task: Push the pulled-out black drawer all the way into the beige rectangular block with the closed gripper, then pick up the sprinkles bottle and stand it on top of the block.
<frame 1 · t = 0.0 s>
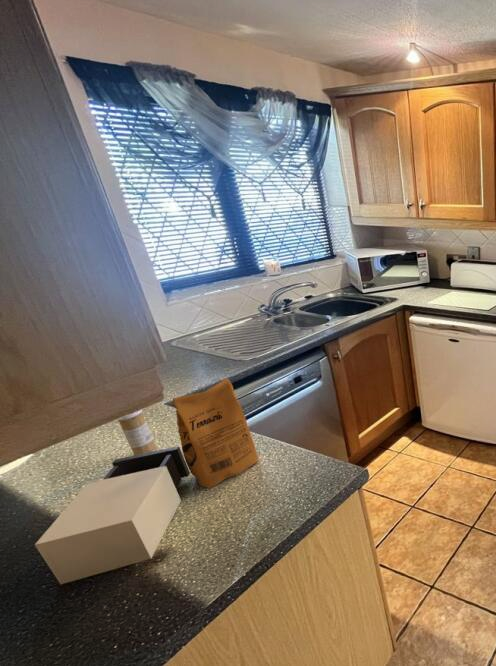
fryer drawer: (144, 480, 82), point 5 cm above the counter, slide at 7.0 cm
sprinkles bottle: (146, 453, 98), on the counter
coffee package: (227, 469, 92), on the counter
beige rectangular block: (127, 538, 74), on the counter
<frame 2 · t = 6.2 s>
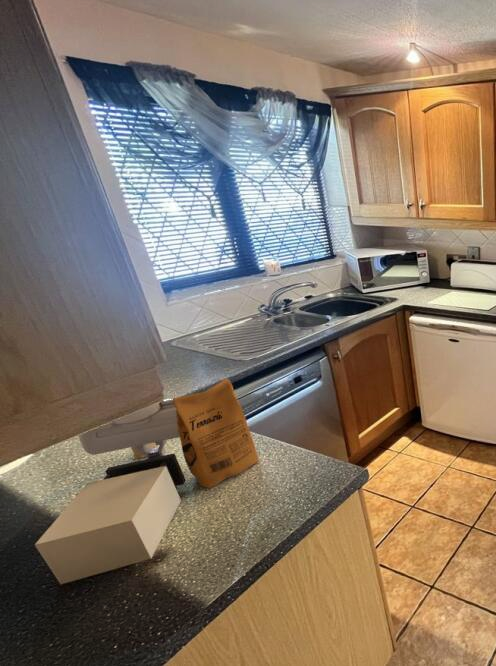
hand: (157, 456, 88), 6 cm above the counter, tool pointing down, fingers closed, pressing on fryer drawer
fryer drawer: (138, 489, 80), point 5 cm above the counter, slide at 4.4 cm, touching gripper
everything else where it was.
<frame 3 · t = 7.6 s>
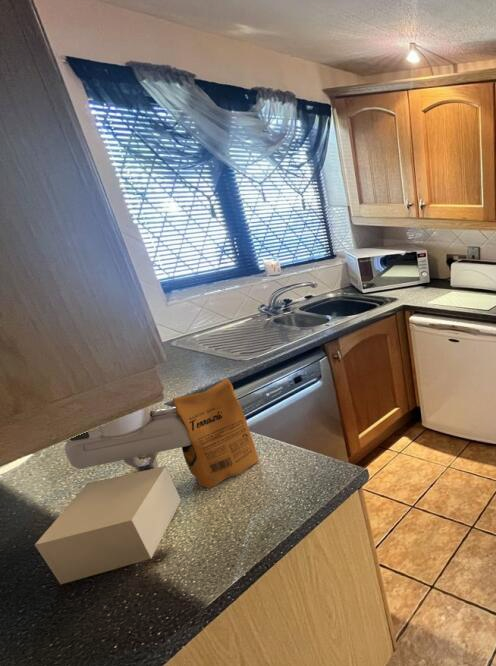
hand: (148, 469, 84), 6 cm above the counter, tool pointing down, fingers closed, pressing on fryer drawer
fryer drawer: (128, 504, 76), point 5 cm above the counter, slide at 0.0 cm, touching beige rectangular block, gripper
everything else where it was.
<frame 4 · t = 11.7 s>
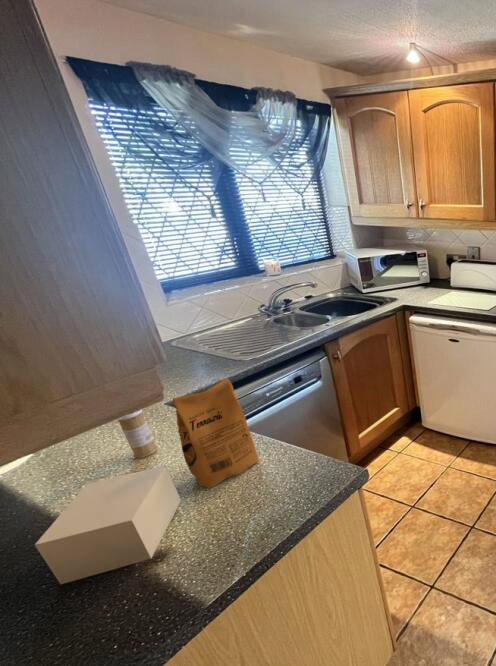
fryer drawer: (128, 504, 76), point 5 cm above the counter, slide at 0.0 cm, touching beige rectangular block
everything else where it was.
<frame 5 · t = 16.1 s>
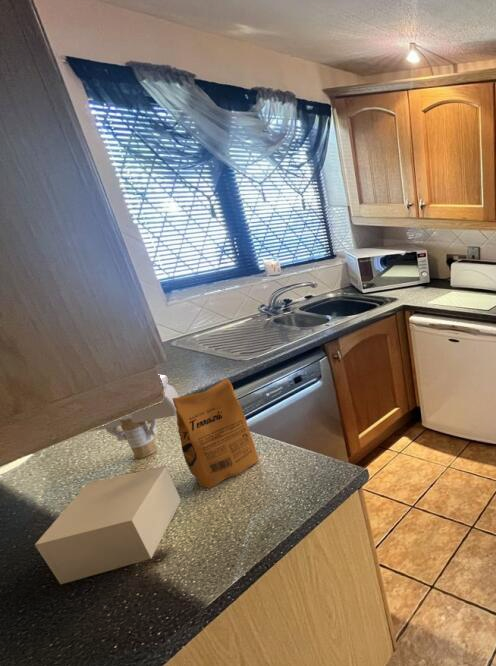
hand: (139, 436, 96), 5 cm above the counter, tool pointing down, fingers closed on sprinkles bottle, 4 cm apart
sprinkles bottle: (146, 453, 98), on the counter, touching gripper
everything else where it was.
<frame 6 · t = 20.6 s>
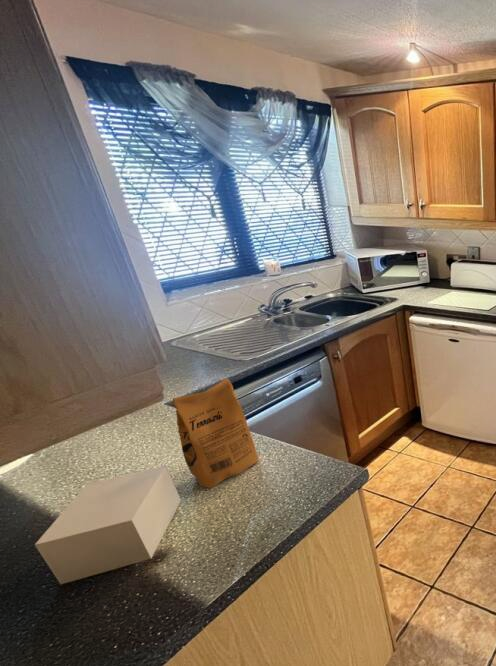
sprinkles bottle: (80, 427, 69), point 24 cm above the counter, touching gripper
everything else where it was.
when the fingers open (15 cm above the counter, at t = 25.3 s): sprinkles bottle stays where it is, resting on beige rectangular block.
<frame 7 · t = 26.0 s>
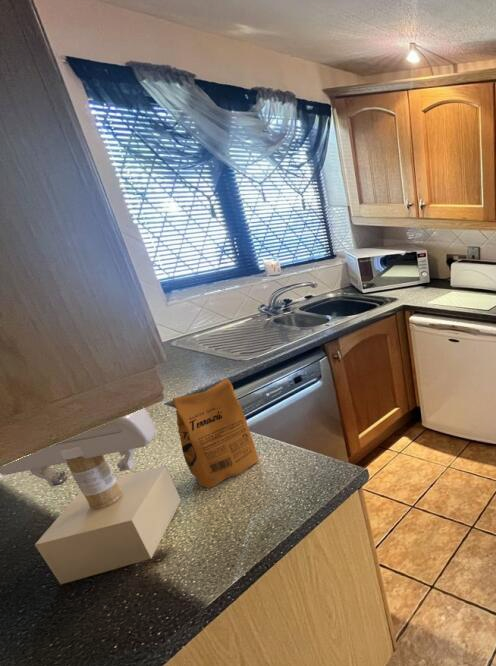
hand: (94, 475, 69), 16 cm above the counter, tool pointing down, fingers open, 8 cm apart
sprinkles bottle: (107, 501, 71), point 9 cm above the counter, touching beige rectangular block
everything else where it was.
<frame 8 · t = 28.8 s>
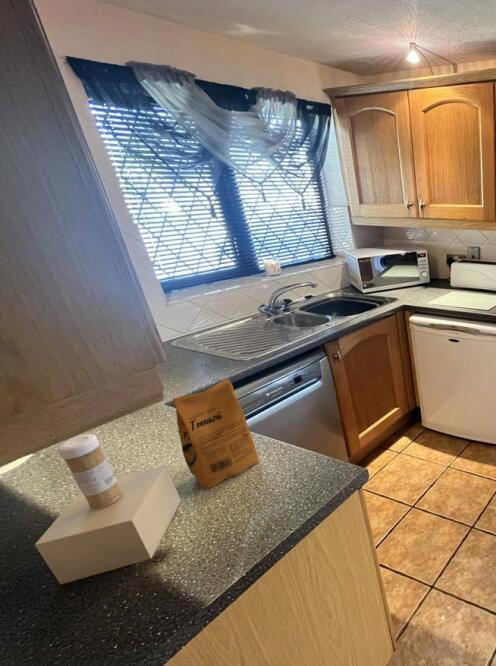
nothing on the counter moved.
at the end: fryer drawer slide at 0.0 cm; sprinkles bottle inside the target area on the beige rectangular block (0.1 cm from its centre), point 9.4 cm above the beige rectangular block's base; sprinkles bottle tilted 0° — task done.
